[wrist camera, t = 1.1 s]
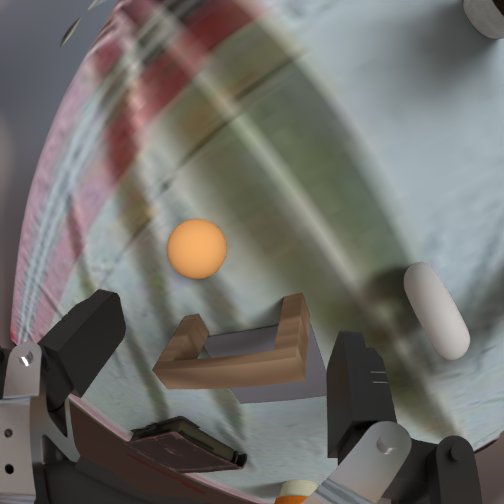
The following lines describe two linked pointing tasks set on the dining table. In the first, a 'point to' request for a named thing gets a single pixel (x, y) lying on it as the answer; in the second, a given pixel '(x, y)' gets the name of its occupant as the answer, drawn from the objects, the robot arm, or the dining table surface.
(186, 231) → the ball
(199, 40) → the dining table surface
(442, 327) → the donut
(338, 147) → the dining table surface
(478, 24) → the house plant
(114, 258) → the dining table surface
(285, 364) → the bridge
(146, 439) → the diary
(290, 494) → the reusable coffee cup
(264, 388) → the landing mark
